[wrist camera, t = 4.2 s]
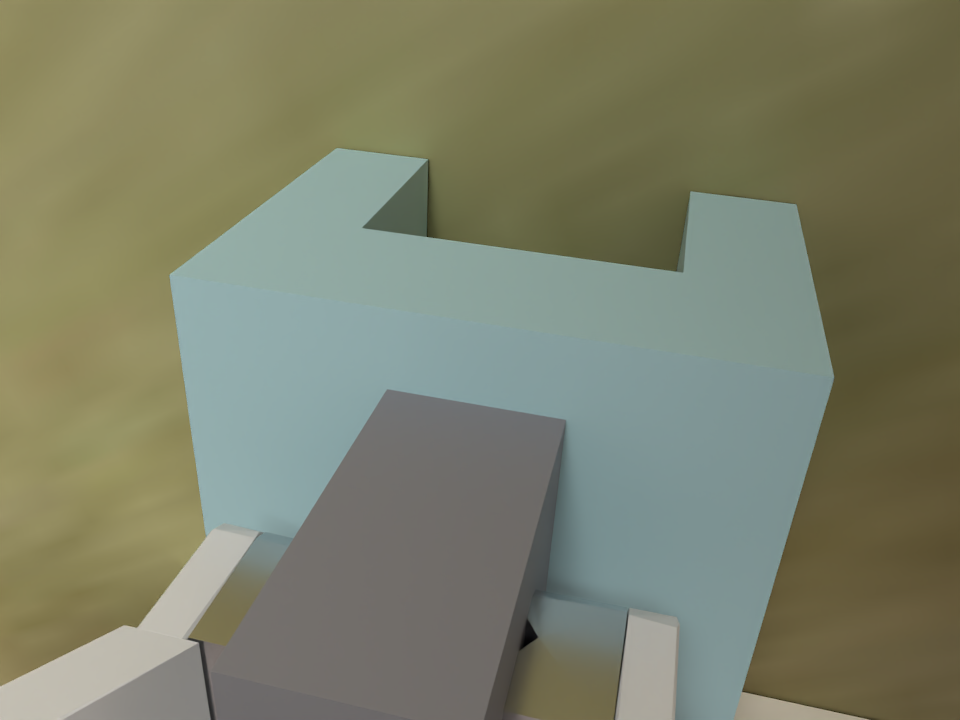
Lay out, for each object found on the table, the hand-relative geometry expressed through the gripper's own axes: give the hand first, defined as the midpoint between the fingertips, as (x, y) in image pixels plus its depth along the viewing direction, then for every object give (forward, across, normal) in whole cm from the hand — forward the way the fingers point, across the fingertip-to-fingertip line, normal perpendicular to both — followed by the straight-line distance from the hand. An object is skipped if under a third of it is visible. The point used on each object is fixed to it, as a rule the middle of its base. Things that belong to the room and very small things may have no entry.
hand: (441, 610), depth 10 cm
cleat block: (+6, 0, 0) cm, 6 cm away
